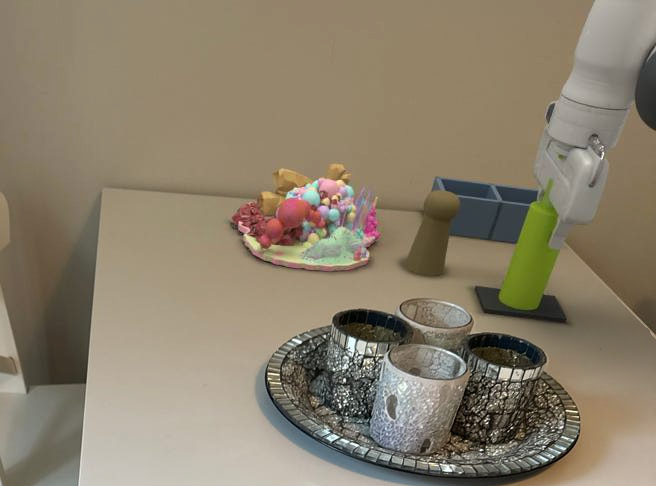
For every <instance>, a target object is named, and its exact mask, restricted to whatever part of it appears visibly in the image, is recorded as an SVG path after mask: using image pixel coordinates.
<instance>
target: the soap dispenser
mask: <svg viewBox="0 0 656 486" xmlns="http://www.w3.org/2000/svg"><path fill="white" fill-rule="evenodd" d="M558 158H560V159H563V156H562V155H560V154H559V155H558ZM552 186H553V180H552V179H551V178H550V180H549V182H548V185H547V188H546V190H545V193H544V196H543V199H542V201H535V202H532V203H531V205H530V208H529V211H528V213H527V216H526V219H525V222H524V225H523V228H522V231H521V233H520V236H519V239H518V242H517V243H516V244H515V248H514V250H513V254H512V256H511V259H510V262H509V265H508V268H507V271H506V274H505V276H504V279H503V282H502V285H501V288H500V289H501V290H500V293H499V296H498V298H499V300H500V301H501V302H502V303H504V304H505V305H507V306H509V307H512V308H516V309H520V310H534V309H536V308H538V306H539V303H540V301H541V298H542V296H543V294H544V293H545V290H546V288H547V285H548V283H549V280H550V278H551V275H552V272H553V269H554V267H555V264H556V262H557V259H558V257H559V254H560V252H561V249H560V250H556V249H550V248H549V246H548V244H547V241H548V239H549V235H550V233H551V231H552V232H553V231H554V229H555V227H556V225H557V223H558V222H557V219H558V216H559V215H558V213H557V212H556V210H555V208H554V207H553V205H552V204H551V202H550V200H549V193H550V191H551V188H552Z"/></svg>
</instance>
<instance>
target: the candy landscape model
mask: <svg viewBox="0 0 656 486" xmlns="http://www.w3.org/2000/svg"><path fill="white" fill-rule="evenodd" d="M351 176H352V173H346V168H345V166H344V165H343V164H341V163H340V164H339V163H332V164H329V166H328V168H327V171H326V177H325V176H324V175H322V176H321V177H319V178H318V179H317V180H315V181H313V180H312V179H311V178H310V177H307V176H305V175H302V174H300V173H299V172H296V171H294V170H290V169H287V168H282V167H281V168H280V169H278V170H277V171H275V172H273V173H272V178H273V179H272V180H273V182H274V187H275V189H276V190H275V192H272V191H268V190H267V191H261V193H260V195H258V197H256V201H249V202H248V203H244V204H243V205H241V206H240V207H239V208H238V209H237V211H236V213H235V214H234V215H233V216H232V217H231V219H232V222H233V223H234V224H233V225H237V230H238V231H239V232H241V233H243V237H242V241H243V242H244V246H245V247H247V248H248V249H249V251H250V252H251V254H252V255H253V256H256V257H257V258H259V259H261V260H262V261H265V262H269V263H272V264H274V265H276V266H277V265H278V266H284V267H287V268H293V269H305V270H307V271H321V272H322V271H323V272H333V271H338V272H339V271H349V270H353V269H356V268H359V267H361V266H365V265H367V264H368V262H369V260H370V257H371V256H370V251H368V250H367V248H368V247H369V248H370V246H371V245H372V244H374V243H375V241H377V240H379V238H380V233H379V232H378V231H377V227H378V226H379V222H378V220H377V215H376V214H377V211H375V210H376V208H377V207H376V206H377V205H378V199H379V197H378V196H375V199H374V201H370V199H371V197H372V194H373V188H372V187H370V189H369V191H368V194H367V196H366V198H365V197H364V194H365V191H366V185H364V186H363V188H362V190H361V192H360V193H358V196H357V198H356V200H355V198H354V197H355V191H354V189H353V187H352V186H351V185H349V183H350V180H351ZM364 198H365V199H364Z"/></svg>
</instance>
